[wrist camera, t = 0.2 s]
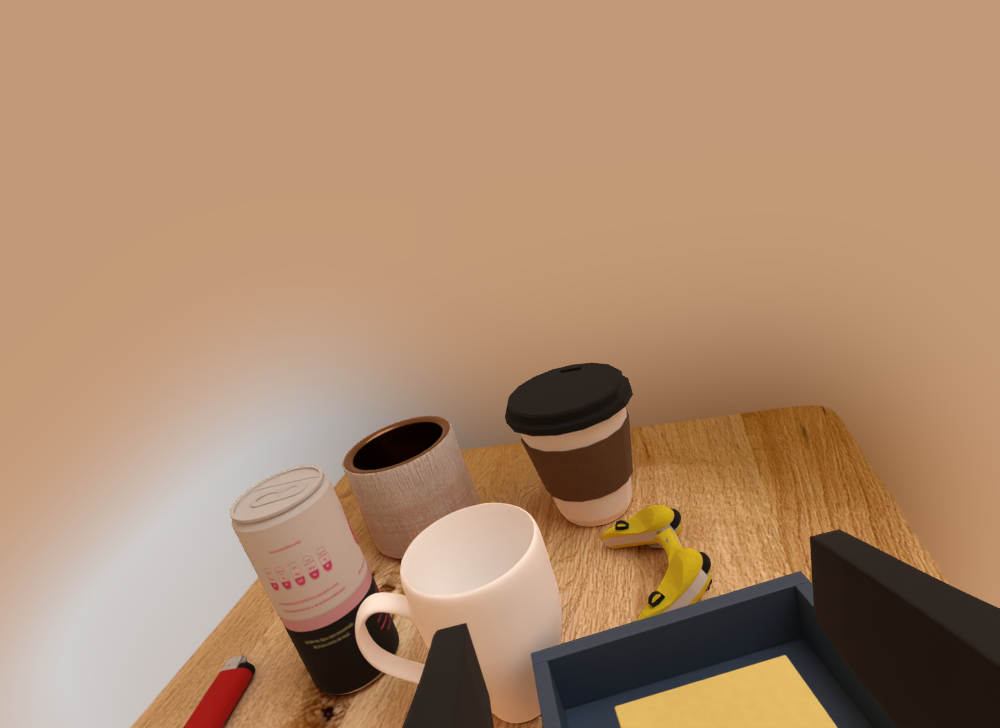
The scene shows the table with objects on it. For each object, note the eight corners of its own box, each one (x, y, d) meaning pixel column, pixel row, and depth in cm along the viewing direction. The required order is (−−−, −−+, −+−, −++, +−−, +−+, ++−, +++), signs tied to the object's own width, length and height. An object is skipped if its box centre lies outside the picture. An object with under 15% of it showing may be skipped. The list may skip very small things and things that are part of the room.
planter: (370, 524, 61) (336, 445, 58) (464, 481, 63) (437, 404, 60) (386, 581, 51) (346, 490, 48) (497, 528, 53) (465, 438, 50)
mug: (569, 623, 40) (524, 485, 37) (605, 728, 32) (552, 566, 29) (404, 680, 40) (343, 546, 36) (400, 801, 32) (322, 645, 28)
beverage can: (326, 638, 46) (248, 480, 41) (405, 616, 46) (334, 454, 41) (305, 710, 40) (209, 533, 35) (395, 685, 40) (311, 503, 35)
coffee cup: (550, 477, 59) (518, 371, 55) (659, 466, 55) (633, 351, 51) (526, 549, 49) (485, 426, 45) (656, 542, 45) (623, 407, 42)
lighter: (158, 757, 38) (225, 657, 45) (167, 770, 38) (232, 669, 46) (195, 752, 37) (256, 652, 45) (204, 766, 38) (263, 664, 45)
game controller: (740, 600, 36) (712, 565, 35) (658, 654, 37) (628, 621, 36) (682, 514, 46) (658, 484, 45) (618, 558, 47) (593, 530, 46)
